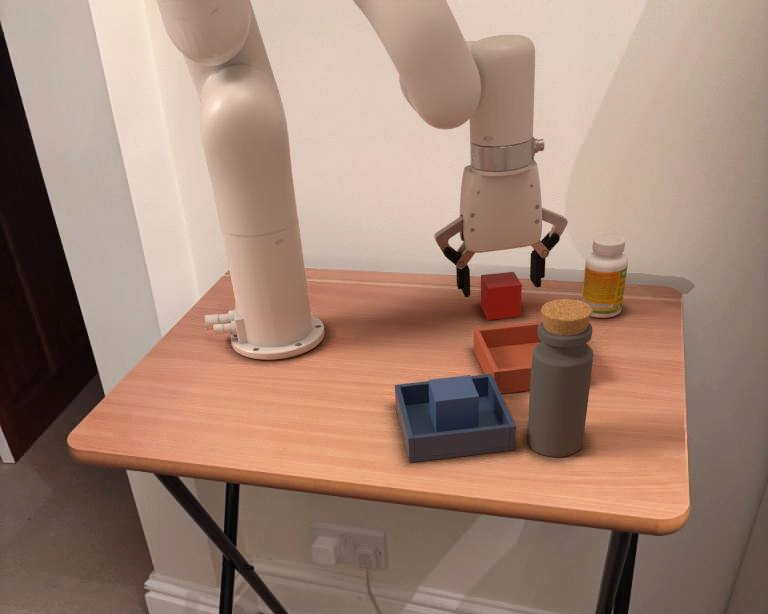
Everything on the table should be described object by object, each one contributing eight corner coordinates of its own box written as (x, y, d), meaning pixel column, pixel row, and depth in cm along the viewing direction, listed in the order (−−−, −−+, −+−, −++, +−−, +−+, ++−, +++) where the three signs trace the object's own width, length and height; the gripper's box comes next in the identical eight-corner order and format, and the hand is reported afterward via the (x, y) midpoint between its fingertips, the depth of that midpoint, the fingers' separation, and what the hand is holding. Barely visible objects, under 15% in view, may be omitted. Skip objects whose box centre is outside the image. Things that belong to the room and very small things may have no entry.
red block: (487, 320, 106) (488, 288, 103) (480, 306, 109) (480, 274, 106) (520, 316, 106) (522, 284, 103) (512, 303, 109) (513, 271, 106)
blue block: (436, 438, 83) (435, 401, 80) (429, 415, 87) (428, 379, 84) (478, 433, 83) (479, 396, 81) (470, 411, 87) (470, 374, 84)
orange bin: (493, 394, 90) (493, 371, 88) (473, 350, 99) (474, 328, 97) (587, 384, 91) (590, 361, 89) (559, 341, 100) (561, 319, 98)
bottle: (583, 459, 79) (600, 323, 70) (525, 456, 80) (534, 321, 71) (582, 427, 84) (597, 296, 74) (527, 425, 85) (536, 295, 75)
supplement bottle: (621, 319, 103) (632, 247, 97) (580, 318, 104) (587, 246, 98) (620, 302, 107) (630, 232, 101) (580, 301, 108) (587, 231, 102)
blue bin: (409, 462, 81) (408, 438, 79) (395, 407, 90) (394, 384, 88) (514, 450, 81) (516, 426, 80) (491, 396, 90) (492, 373, 88)
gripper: (561, 138, 98) (555, 269, 109) (426, 155, 97) (433, 286, 108) (580, 153, 92) (571, 291, 103) (436, 172, 91) (442, 308, 102)
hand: (500, 288), depth 105 cm, fingers open, 9 cm apart
